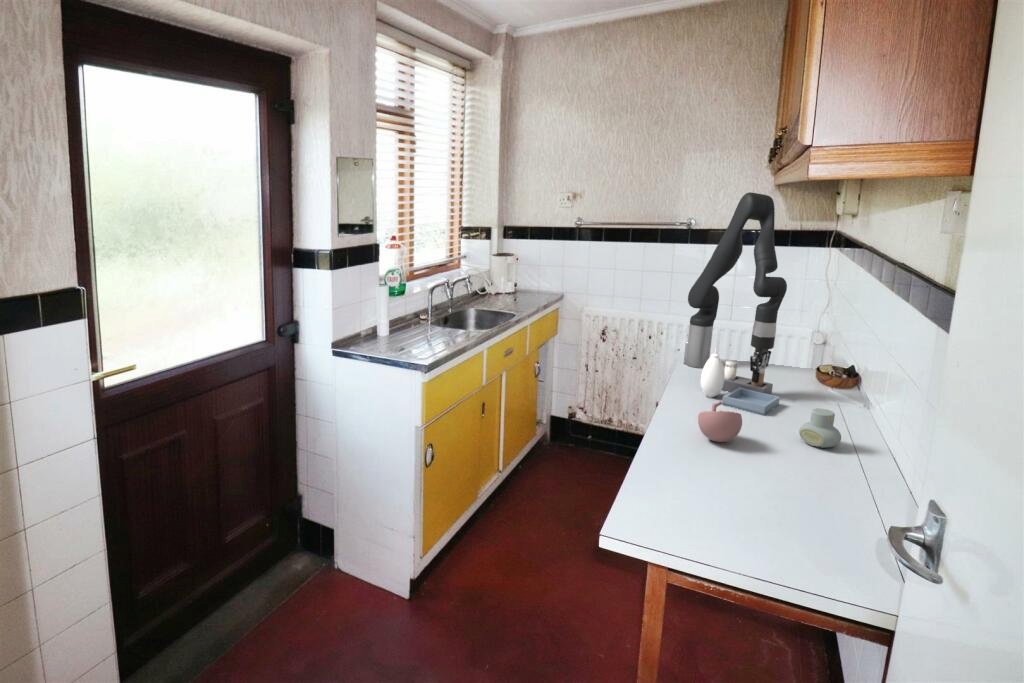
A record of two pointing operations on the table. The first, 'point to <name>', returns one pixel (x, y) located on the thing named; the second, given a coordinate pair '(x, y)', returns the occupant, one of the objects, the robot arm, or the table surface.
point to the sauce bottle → (712, 376)
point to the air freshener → (820, 429)
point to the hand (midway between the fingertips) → (757, 380)
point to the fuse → (730, 370)
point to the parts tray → (751, 401)
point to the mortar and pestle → (720, 424)
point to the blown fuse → (761, 378)
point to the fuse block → (746, 385)
